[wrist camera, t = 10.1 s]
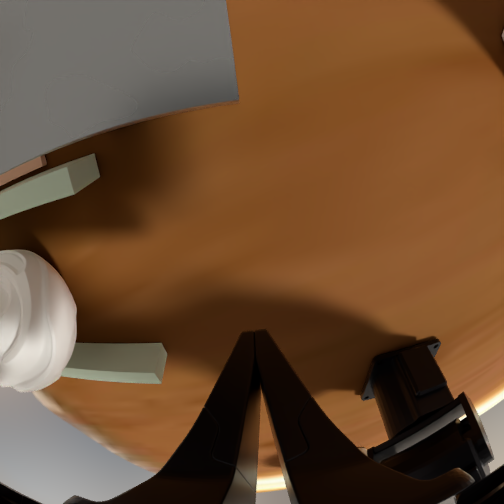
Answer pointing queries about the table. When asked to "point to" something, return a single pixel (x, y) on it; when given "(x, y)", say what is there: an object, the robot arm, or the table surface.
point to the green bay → (86, 354)
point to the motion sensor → (33, 322)
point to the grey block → (106, 68)
